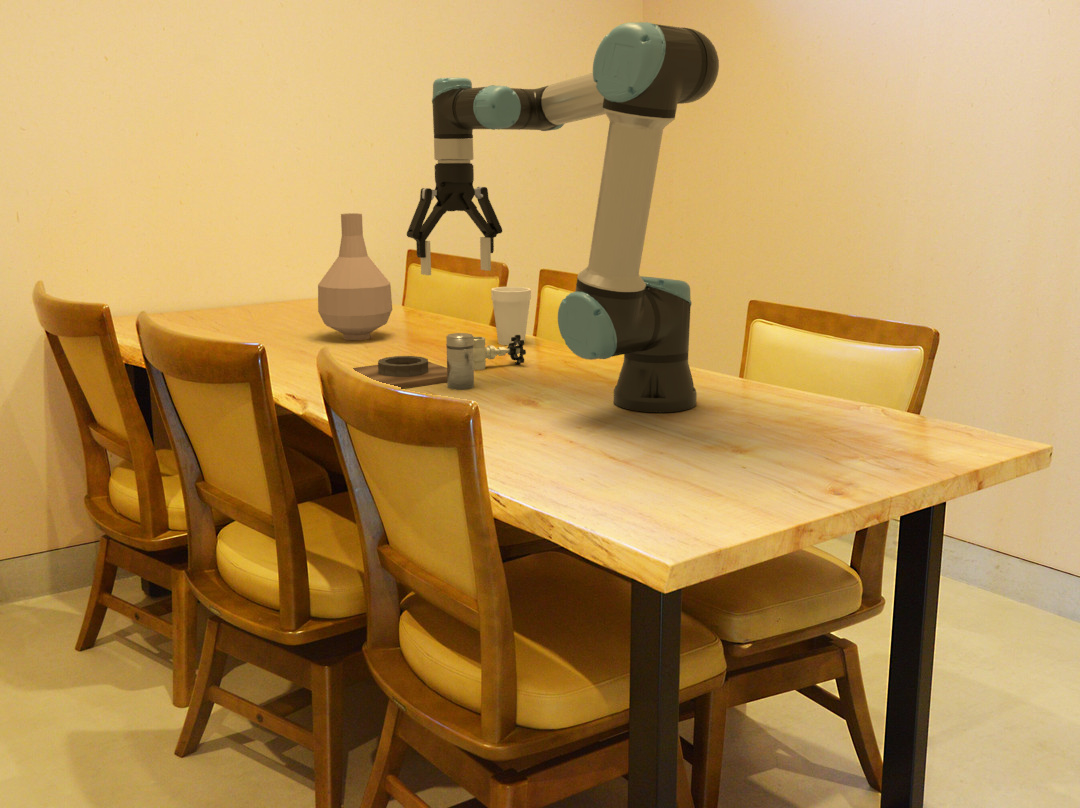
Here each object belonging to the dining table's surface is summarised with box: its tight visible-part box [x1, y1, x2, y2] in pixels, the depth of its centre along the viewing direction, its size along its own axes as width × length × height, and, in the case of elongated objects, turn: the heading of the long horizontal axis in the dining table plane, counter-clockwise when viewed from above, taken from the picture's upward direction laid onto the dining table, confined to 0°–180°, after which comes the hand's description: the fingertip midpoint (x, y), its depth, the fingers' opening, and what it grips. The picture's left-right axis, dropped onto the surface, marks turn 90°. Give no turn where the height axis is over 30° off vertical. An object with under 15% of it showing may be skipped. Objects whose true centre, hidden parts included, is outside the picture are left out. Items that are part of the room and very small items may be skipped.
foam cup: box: [490, 286, 532, 346], centre depth 243 cm, size 10×9×13 cm
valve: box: [473, 335, 527, 371], centre depth 217 cm, size 7×7×12 cm
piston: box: [445, 332, 475, 391], centre depth 199 cm, size 5×5×10 cm
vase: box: [317, 212, 393, 341], centre depth 247 cm, size 18×18×30 cm
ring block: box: [352, 355, 447, 389], centre depth 208 cm, size 18×18×3 cm
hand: (456, 272), depth 202 cm, fingers open, 13 cm apart
